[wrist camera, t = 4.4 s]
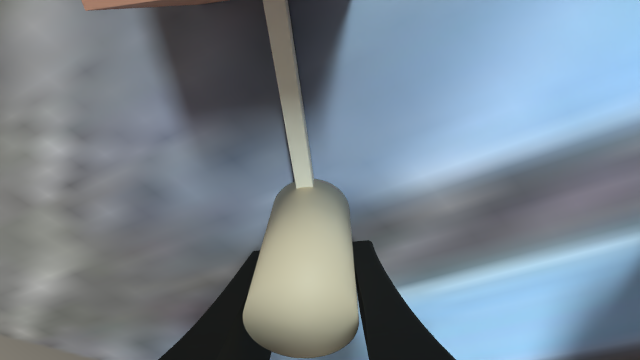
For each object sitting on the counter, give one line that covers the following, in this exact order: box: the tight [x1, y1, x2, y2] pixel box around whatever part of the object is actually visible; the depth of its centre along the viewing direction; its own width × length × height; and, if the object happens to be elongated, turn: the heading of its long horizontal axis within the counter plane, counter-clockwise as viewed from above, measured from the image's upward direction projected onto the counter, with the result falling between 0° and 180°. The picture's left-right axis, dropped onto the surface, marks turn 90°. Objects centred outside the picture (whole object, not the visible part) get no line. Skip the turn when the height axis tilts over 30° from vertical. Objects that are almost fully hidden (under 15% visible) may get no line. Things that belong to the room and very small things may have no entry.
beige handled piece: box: [82, 0, 359, 358], centre depth 8 cm, size 4×14×5 cm, turn 7°
